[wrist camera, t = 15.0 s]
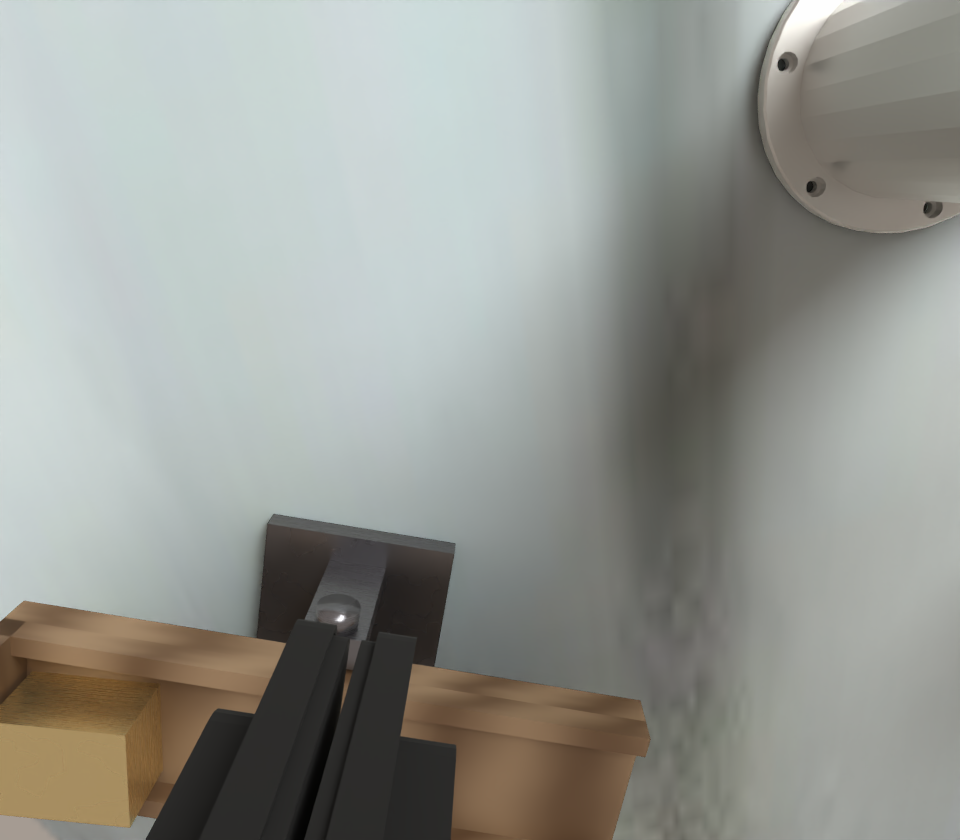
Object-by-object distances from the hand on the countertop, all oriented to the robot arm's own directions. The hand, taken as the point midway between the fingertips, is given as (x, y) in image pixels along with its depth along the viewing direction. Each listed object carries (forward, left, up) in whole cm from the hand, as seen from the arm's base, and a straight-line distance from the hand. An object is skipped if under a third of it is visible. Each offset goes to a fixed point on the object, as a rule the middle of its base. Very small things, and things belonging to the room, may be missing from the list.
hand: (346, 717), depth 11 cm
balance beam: (+3, +20, -22) cm, 30 cm away
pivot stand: (+3, +20, -29) cm, 35 cm away
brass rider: (+14, +20, -21) cm, 33 cm away
